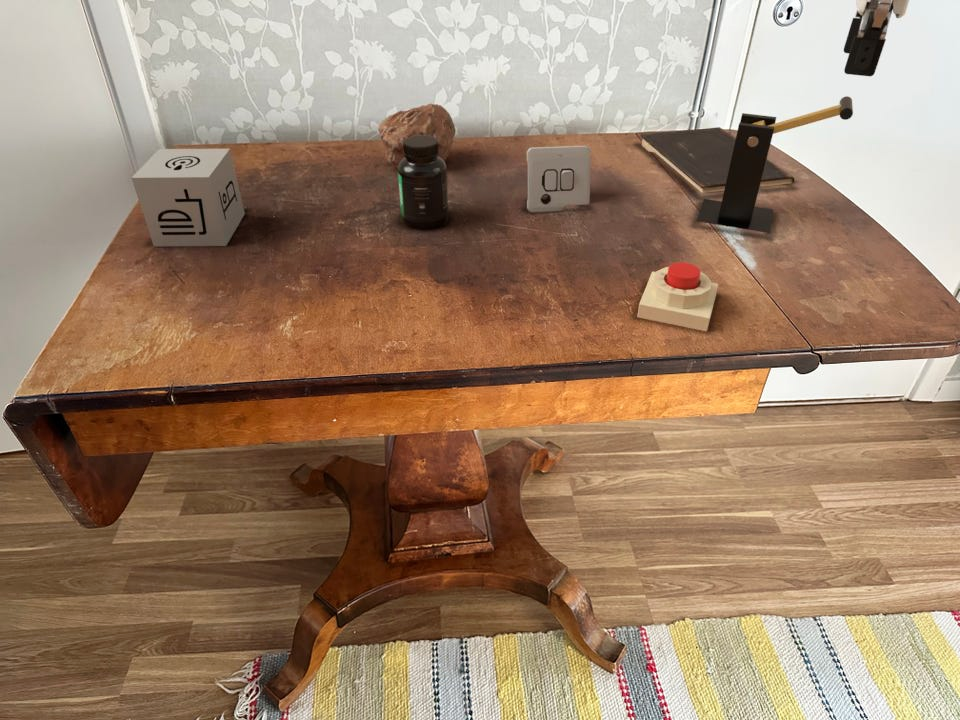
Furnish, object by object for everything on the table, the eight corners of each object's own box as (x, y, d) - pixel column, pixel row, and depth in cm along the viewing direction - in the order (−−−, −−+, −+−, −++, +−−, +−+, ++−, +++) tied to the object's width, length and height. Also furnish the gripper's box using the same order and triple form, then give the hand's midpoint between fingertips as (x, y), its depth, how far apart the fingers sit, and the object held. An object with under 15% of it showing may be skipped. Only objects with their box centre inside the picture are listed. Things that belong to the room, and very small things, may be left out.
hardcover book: (699, 200, 108) (702, 186, 107) (638, 147, 126) (640, 134, 124) (792, 190, 111) (796, 176, 109) (719, 139, 129) (722, 126, 127)
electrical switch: (527, 214, 104) (529, 152, 99) (522, 203, 109) (524, 142, 104) (589, 212, 105) (594, 149, 100) (582, 200, 109) (586, 140, 104)
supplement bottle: (395, 229, 101) (388, 148, 93) (410, 209, 106) (404, 130, 99) (441, 234, 99) (437, 152, 92) (453, 213, 105) (451, 134, 97)
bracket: (771, 216, 104) (799, 115, 95) (767, 240, 98) (796, 135, 89) (702, 205, 107) (722, 107, 97) (694, 228, 101) (715, 125, 92)
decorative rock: (448, 148, 125) (446, 91, 119) (465, 172, 117) (464, 112, 111) (375, 157, 122) (370, 98, 116) (387, 182, 114) (382, 120, 108)
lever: (853, 109, 90) (850, 91, 89) (854, 121, 87) (851, 102, 86) (747, 139, 97) (743, 123, 96) (744, 152, 94) (739, 135, 93)
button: (699, 278, 83) (702, 265, 82) (695, 293, 80) (698, 280, 79) (668, 273, 84) (671, 260, 83) (663, 287, 81) (665, 274, 80)
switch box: (715, 298, 86) (721, 270, 83) (706, 334, 80) (713, 304, 78) (649, 286, 88) (654, 258, 86) (636, 319, 82) (641, 290, 80)
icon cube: (226, 246, 97) (208, 177, 91) (153, 246, 97) (131, 177, 91) (244, 213, 105) (230, 148, 99) (178, 214, 105) (159, 149, 99)
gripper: (961, -96, 67) (895, 87, 78) (941, -110, 80) (887, 49, 91) (875, -99, 70) (823, 79, 80) (869, -112, 82) (825, 43, 93)
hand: (857, 63), depth 85 cm, fingers open, 9 cm apart
